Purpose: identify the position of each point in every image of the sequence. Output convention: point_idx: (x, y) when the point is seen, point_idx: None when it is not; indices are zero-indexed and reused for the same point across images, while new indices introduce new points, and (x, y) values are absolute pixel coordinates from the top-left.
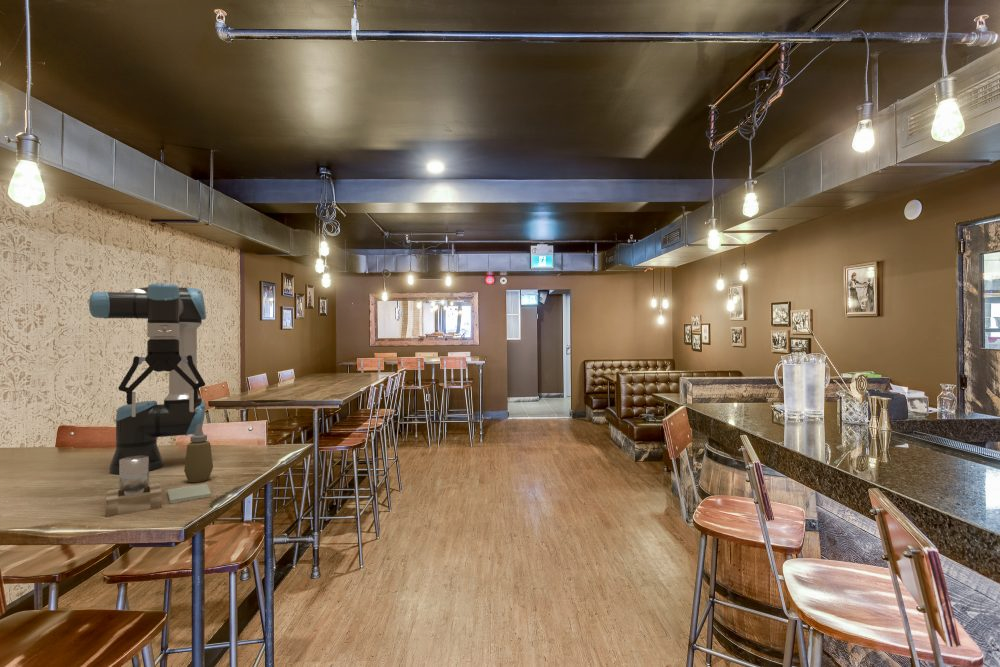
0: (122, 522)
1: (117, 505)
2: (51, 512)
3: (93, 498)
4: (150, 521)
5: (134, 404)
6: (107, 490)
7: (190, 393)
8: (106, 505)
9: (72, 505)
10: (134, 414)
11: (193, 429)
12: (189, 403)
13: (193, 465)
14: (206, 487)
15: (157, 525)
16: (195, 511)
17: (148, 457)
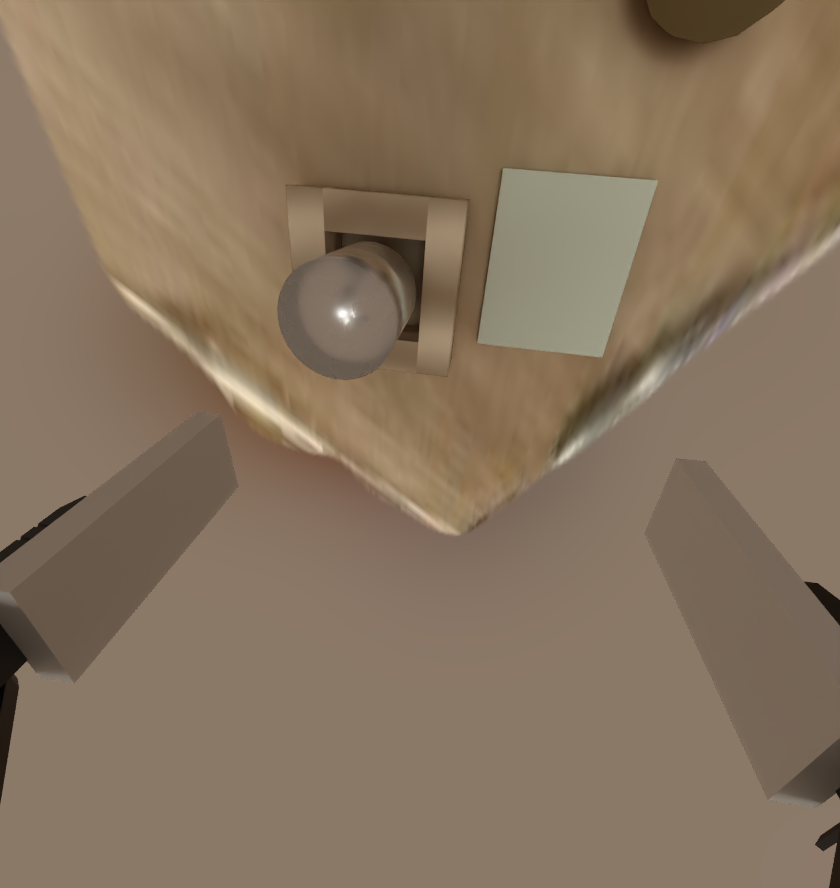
0: (356, 423)
1: None
2: (155, 158)
3: (245, 12)
4: (411, 460)
5: (166, 561)
6: (287, 199)
7: (743, 714)
8: None
9: (195, 94)
10: (221, 496)
11: None
12: (712, 520)
13: (684, 9)
14: (627, 257)
15: (420, 495)
16: (512, 460)
17: (394, 341)
